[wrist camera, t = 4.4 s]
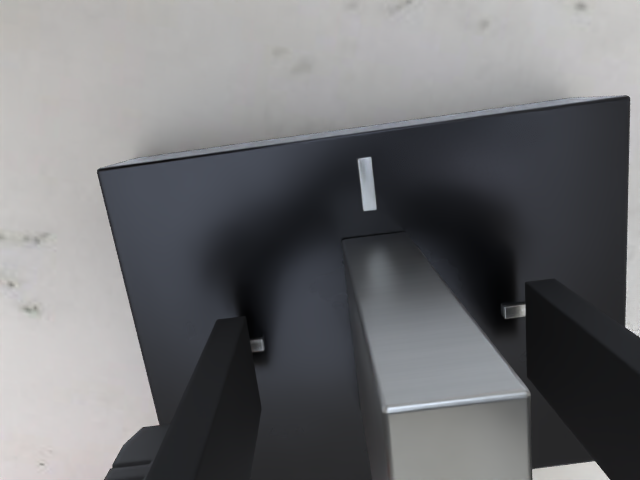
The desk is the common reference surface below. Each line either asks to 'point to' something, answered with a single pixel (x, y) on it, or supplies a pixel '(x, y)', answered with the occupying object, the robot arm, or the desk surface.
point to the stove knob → (429, 373)
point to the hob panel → (361, 221)
